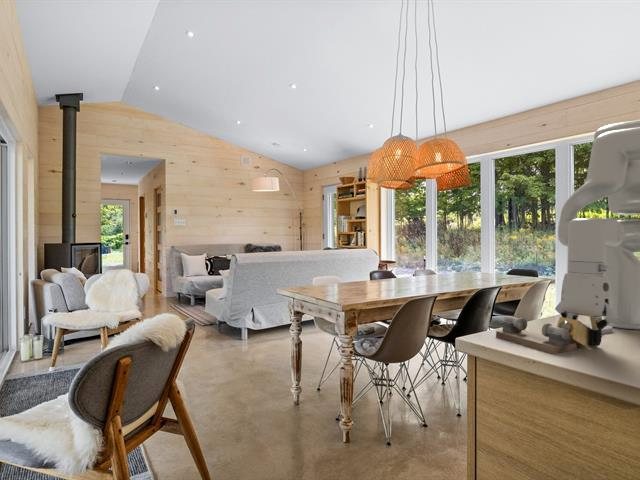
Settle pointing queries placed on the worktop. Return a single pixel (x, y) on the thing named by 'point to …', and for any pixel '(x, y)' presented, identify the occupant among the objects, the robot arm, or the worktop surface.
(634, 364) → the worktop surface
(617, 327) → the robot arm
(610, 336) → the worktop surface
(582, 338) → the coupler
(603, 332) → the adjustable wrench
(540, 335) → the shaft stand
